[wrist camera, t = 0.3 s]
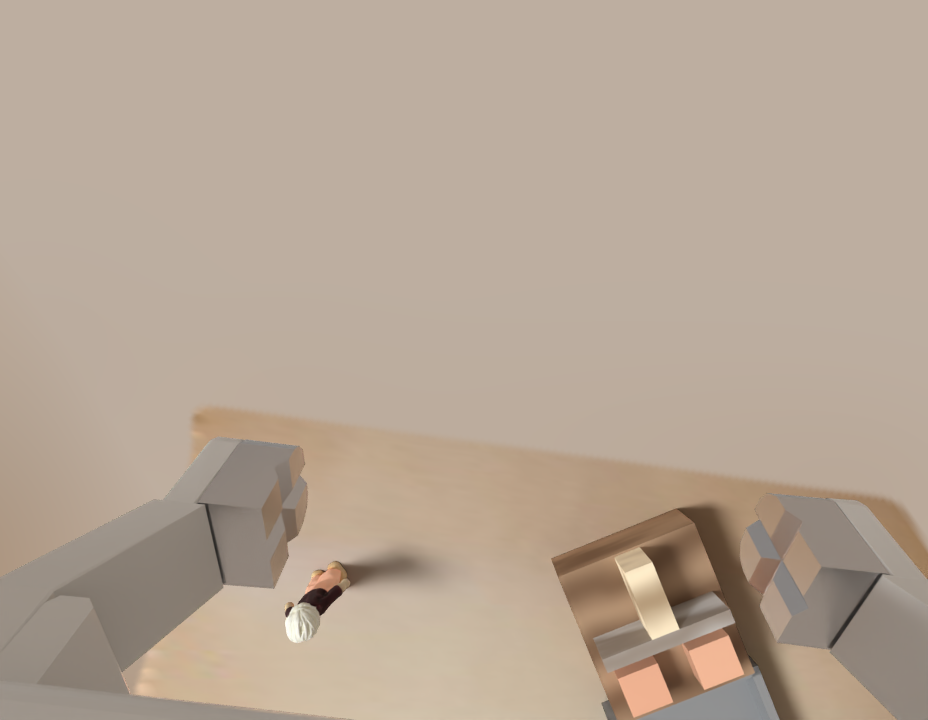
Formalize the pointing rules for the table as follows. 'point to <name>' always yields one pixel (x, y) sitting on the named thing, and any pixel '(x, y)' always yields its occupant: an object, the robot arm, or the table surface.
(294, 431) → the table surface
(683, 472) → the table surface
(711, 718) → the box
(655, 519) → the walnut board
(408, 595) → the table surface
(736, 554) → the table surface
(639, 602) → the scraper
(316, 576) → the grandmother figurine
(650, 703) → the terracotta tile
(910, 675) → the robot arm
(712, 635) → the terracotta tile
